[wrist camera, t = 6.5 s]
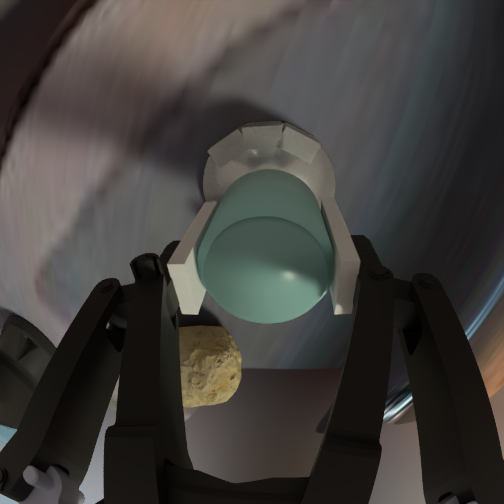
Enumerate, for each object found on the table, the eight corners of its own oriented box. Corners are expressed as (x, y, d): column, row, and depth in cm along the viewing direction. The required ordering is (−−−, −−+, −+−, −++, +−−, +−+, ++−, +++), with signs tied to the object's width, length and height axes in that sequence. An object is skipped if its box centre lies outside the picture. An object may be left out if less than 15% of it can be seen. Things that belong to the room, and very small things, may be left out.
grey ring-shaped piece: (214, 244, 26) (205, 267, 23) (196, 127, 20) (182, 134, 17) (331, 241, 24) (338, 263, 21) (333, 120, 19) (344, 125, 16)
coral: (120, 348, 25) (196, 393, 20) (182, 297, 33) (256, 321, 28) (148, 401, 29) (215, 440, 25) (196, 352, 37) (260, 378, 32)
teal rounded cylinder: (225, 261, 19) (207, 328, 14) (213, 172, 16) (181, 217, 10) (317, 258, 18) (330, 327, 13) (320, 167, 15) (343, 210, 10)
